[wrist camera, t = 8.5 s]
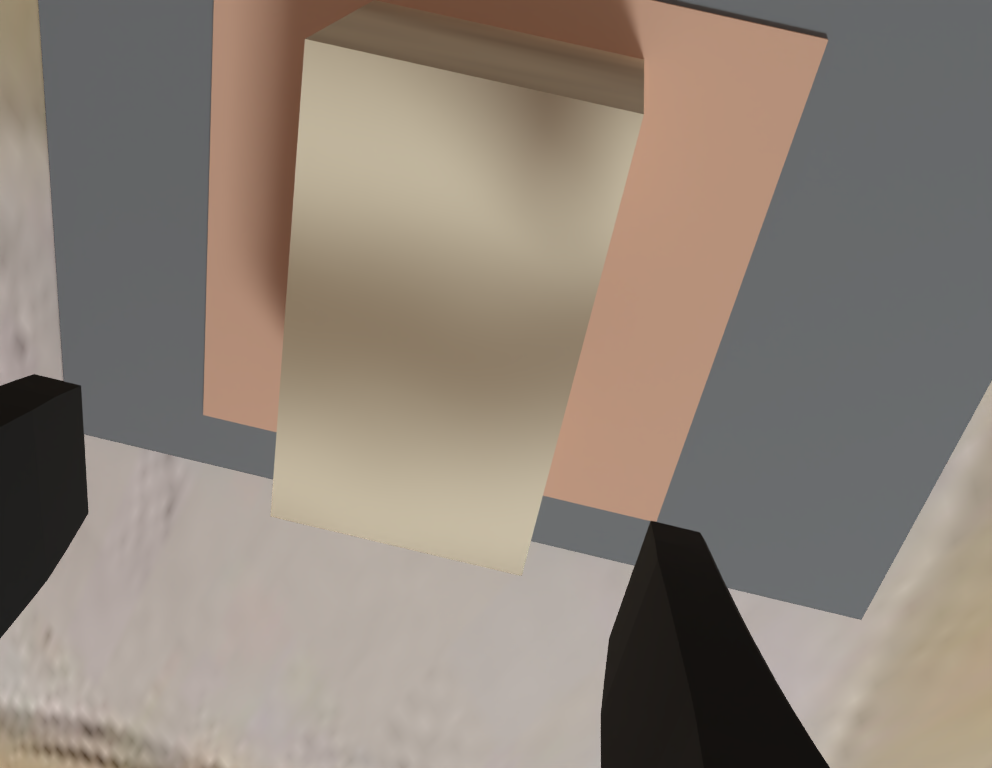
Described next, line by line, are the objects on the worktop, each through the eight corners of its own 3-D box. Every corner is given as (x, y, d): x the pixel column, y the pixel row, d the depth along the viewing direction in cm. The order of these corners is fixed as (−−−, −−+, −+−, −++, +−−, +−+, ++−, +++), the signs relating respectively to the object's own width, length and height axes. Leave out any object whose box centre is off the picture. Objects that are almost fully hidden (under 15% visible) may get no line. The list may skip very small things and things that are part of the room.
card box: (541, 458, 21) (521, 575, 18) (330, 409, 21) (270, 516, 18) (643, 59, 17) (643, 113, 13) (374, 0, 17) (304, 38, 13)
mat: (1526, -651, 12) (1573, -679, 11) (856, 602, 23) (862, 622, 22) (0, -956, 12) (-33, -997, 12) (79, 417, 24) (65, 432, 23)
